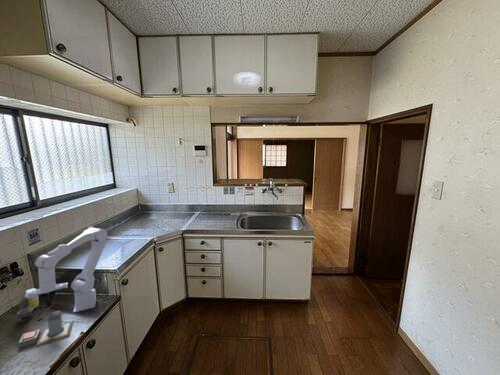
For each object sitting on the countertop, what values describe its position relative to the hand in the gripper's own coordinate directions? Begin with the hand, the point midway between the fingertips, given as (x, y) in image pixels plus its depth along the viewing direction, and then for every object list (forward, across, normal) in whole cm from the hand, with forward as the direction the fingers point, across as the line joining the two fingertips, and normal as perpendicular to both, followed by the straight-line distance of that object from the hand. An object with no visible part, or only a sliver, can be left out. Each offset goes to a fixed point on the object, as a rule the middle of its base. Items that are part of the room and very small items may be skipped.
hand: (49, 305), depth 105 cm
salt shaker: (+11, +10, -15) cm, 21 cm away
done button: (+9, +7, +7) cm, 13 cm away
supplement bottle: (+11, +8, -25) cm, 28 cm away
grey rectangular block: (+9, -2, +8) cm, 13 cm away
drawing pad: (+10, -2, +8) cm, 14 cm away
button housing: (+10, +7, +7) cm, 14 cm away
